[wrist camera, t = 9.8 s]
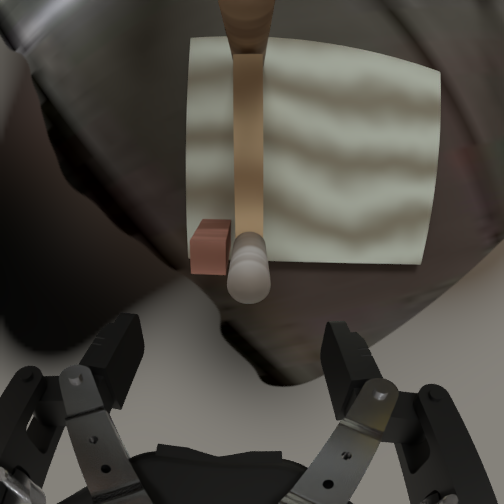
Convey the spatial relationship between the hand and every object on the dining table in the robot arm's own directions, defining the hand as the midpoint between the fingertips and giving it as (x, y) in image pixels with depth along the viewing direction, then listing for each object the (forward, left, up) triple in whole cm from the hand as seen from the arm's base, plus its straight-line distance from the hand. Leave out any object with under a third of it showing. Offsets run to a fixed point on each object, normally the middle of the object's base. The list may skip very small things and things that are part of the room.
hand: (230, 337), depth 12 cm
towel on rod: (-7, +8, -21) cm, 24 cm away
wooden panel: (-6, +1, -20) cm, 20 cm away
